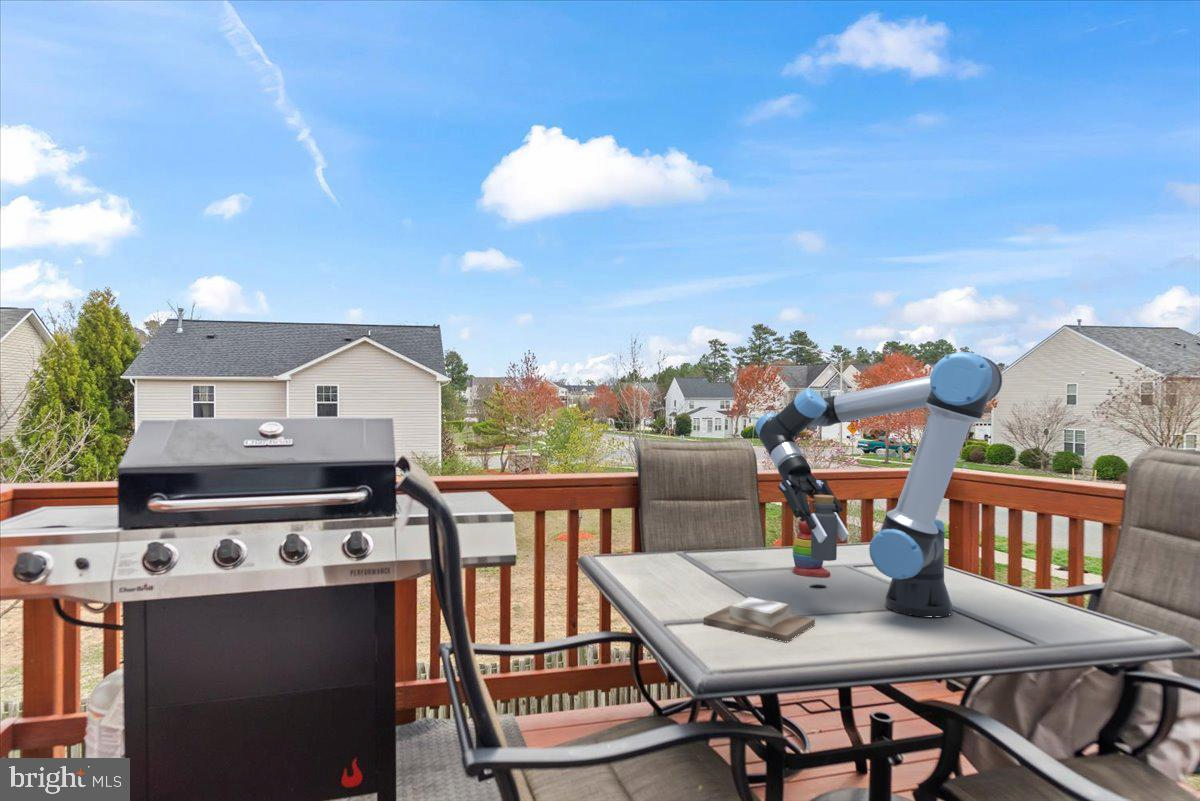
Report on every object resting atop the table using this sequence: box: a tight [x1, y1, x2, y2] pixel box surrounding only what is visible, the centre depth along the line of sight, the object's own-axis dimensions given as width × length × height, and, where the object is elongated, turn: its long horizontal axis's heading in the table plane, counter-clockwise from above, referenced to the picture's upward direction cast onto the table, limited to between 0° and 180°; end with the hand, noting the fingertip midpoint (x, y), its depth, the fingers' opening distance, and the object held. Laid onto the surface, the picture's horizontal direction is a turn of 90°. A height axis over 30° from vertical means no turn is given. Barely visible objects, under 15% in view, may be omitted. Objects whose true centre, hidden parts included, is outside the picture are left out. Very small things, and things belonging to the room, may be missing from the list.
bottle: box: [811, 495, 838, 562], centre depth 168 cm, size 6×6×15 cm
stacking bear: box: [792, 517, 831, 578], centre depth 213 cm, size 11×10×18 cm
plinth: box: [703, 596, 816, 643], centre depth 160 cm, size 20×16×5 cm
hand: (834, 538), depth 164 cm, fingers closed on bottle, 6 cm apart
